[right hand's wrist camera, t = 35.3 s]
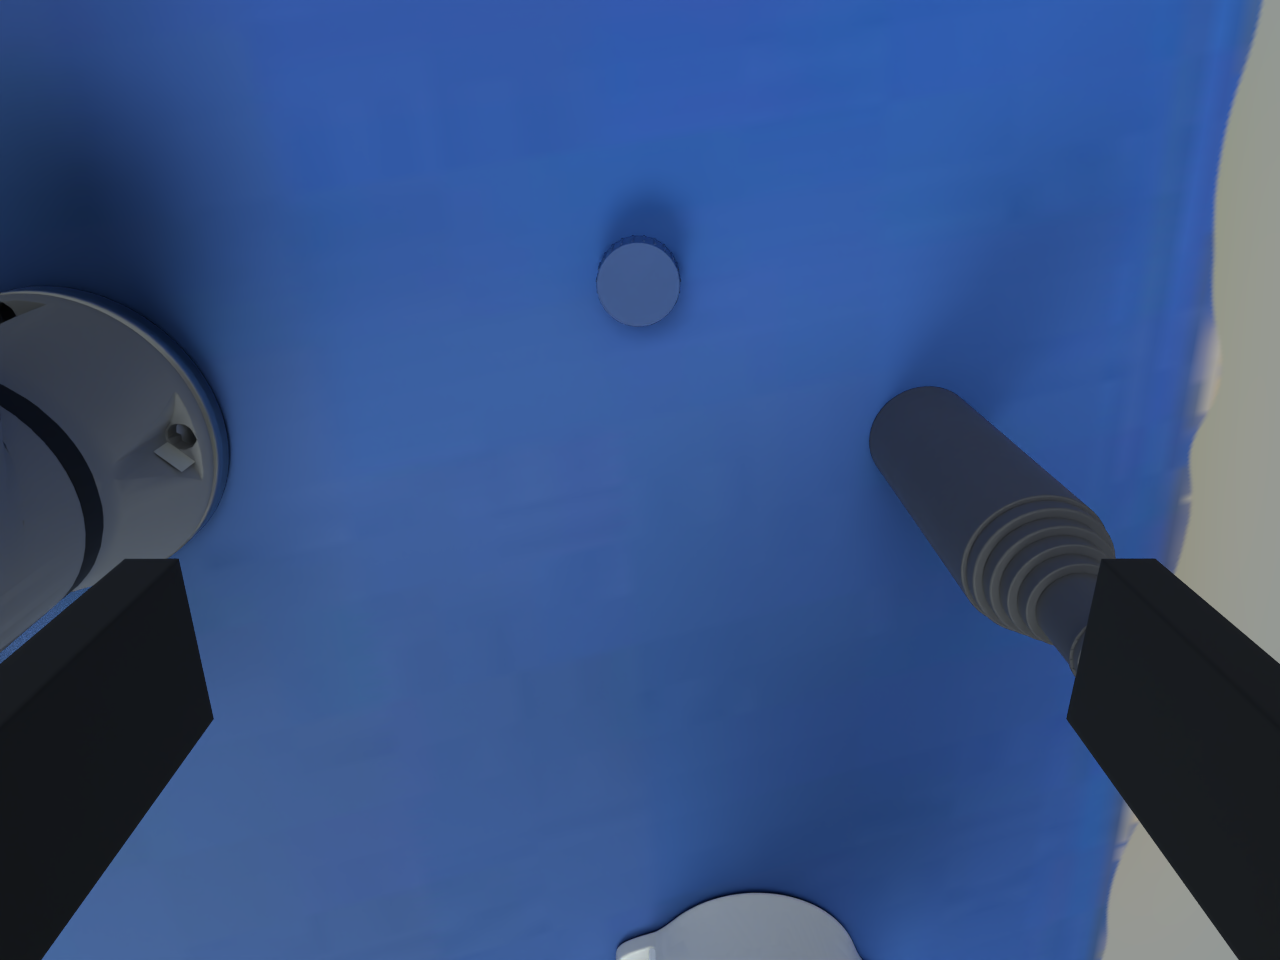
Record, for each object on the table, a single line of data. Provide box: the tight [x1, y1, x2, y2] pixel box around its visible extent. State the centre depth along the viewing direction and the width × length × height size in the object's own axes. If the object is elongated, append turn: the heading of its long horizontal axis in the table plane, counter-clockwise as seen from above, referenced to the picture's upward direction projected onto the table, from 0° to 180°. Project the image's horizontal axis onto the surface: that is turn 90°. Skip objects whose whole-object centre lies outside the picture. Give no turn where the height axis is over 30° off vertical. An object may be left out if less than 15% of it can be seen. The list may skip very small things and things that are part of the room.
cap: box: [596, 235, 681, 327], centre depth 42 cm, size 4×4×3 cm
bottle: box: [869, 387, 1115, 677], centre depth 37 cm, size 6×6×21 cm
